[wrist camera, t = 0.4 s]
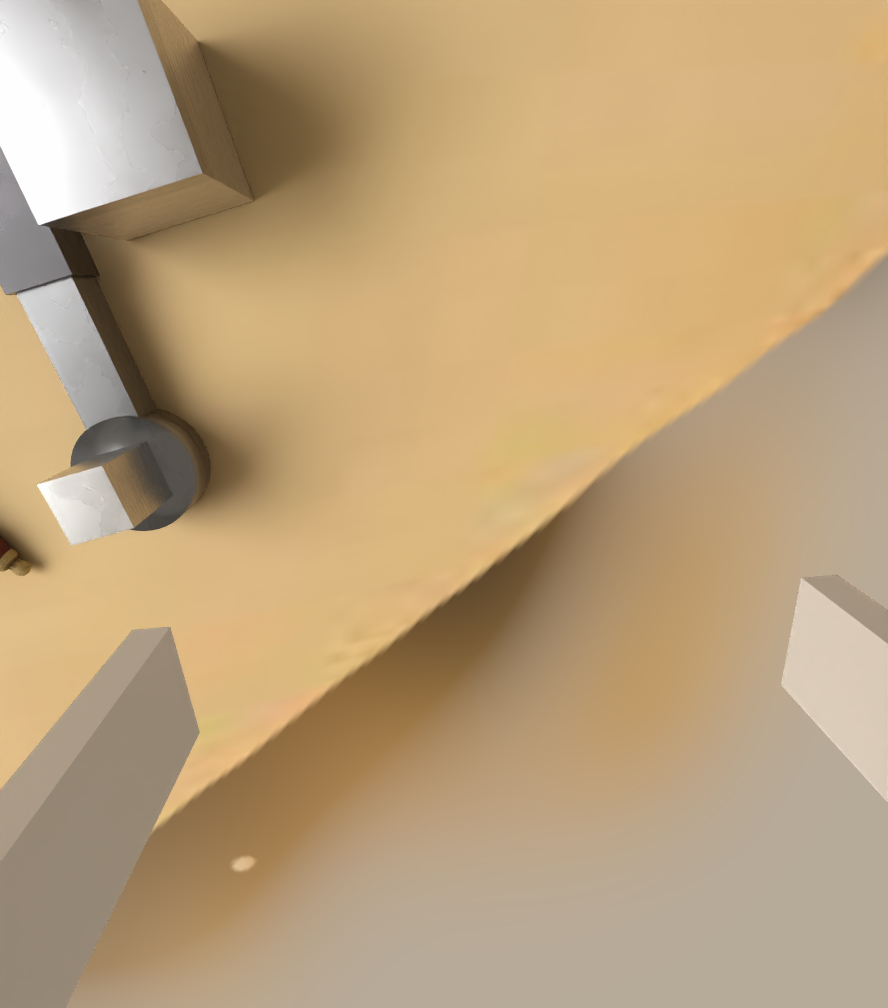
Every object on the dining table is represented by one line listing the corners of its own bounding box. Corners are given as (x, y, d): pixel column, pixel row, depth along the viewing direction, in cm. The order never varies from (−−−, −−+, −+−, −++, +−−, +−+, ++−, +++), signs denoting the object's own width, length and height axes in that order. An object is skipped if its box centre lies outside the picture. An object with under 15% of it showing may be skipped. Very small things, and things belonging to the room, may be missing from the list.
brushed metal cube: (60, 85, 29) (-63, 15, 22) (197, 40, 29) (119, -48, 21) (128, 240, 32) (38, 225, 24) (254, 201, 31) (202, 172, 24)
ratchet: (-68, 147, 30) (-230, 100, 22) (54, 107, 30) (-69, 45, 22) (129, 524, 38) (57, 582, 30) (227, 497, 37) (180, 548, 30)
